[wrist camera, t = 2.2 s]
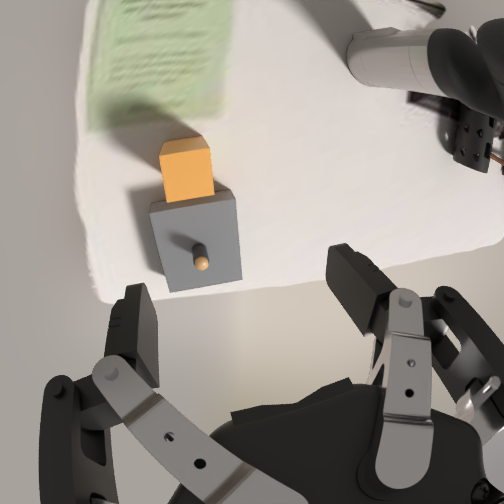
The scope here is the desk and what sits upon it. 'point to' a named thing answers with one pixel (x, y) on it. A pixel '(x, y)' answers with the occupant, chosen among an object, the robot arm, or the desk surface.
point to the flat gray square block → (198, 240)
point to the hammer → (498, 160)
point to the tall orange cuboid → (186, 169)
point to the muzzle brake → (474, 139)
